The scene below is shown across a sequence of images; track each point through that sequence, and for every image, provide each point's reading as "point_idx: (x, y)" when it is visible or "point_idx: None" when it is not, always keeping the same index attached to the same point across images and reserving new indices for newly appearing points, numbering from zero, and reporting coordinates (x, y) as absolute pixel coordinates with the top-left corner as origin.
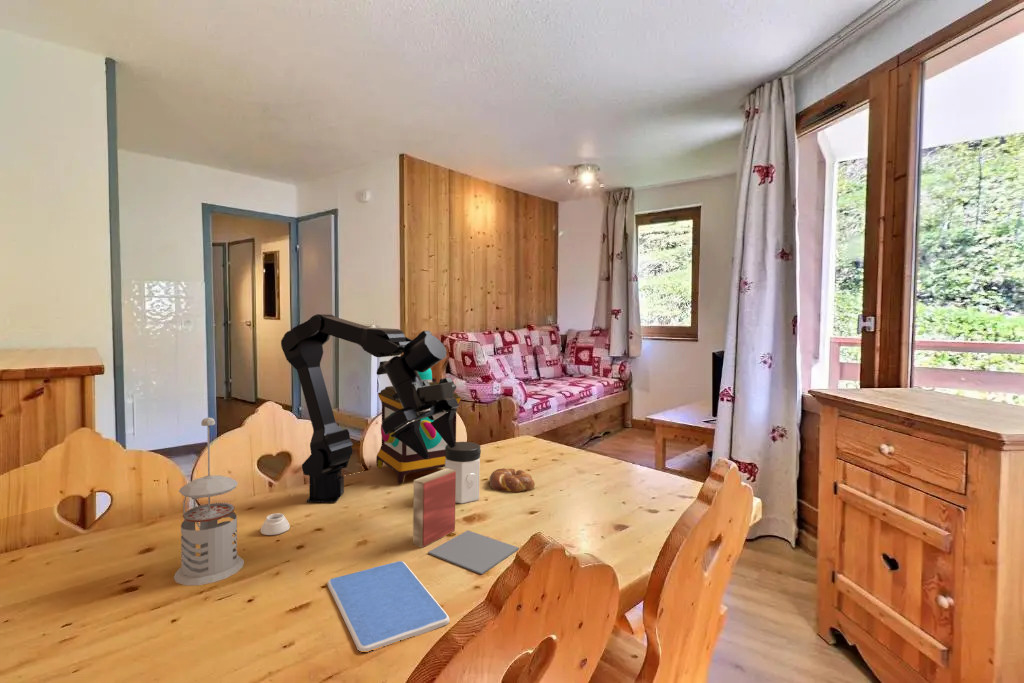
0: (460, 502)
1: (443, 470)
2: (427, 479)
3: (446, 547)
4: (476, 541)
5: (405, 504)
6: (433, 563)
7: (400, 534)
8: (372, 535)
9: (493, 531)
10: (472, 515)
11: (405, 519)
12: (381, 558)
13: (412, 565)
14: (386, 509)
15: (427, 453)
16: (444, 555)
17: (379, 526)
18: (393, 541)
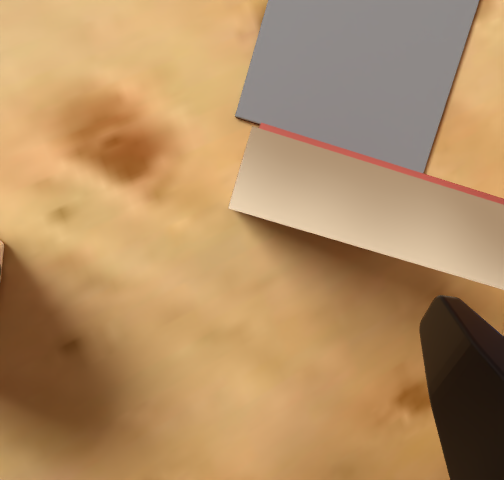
0: (3, 247)
1: (285, 207)
2: (489, 222)
3: (377, 132)
4: (305, 52)
5: (97, 439)
6: (467, 131)
7: (329, 322)
8: (365, 399)
9: (197, 28)
10: (94, 156)
11: (219, 368)
12: (485, 290)
13: (495, 185)
14: (166, 475)
15: (468, 315)
16: (428, 115)
17: (300, 417)
18: (380, 316)
